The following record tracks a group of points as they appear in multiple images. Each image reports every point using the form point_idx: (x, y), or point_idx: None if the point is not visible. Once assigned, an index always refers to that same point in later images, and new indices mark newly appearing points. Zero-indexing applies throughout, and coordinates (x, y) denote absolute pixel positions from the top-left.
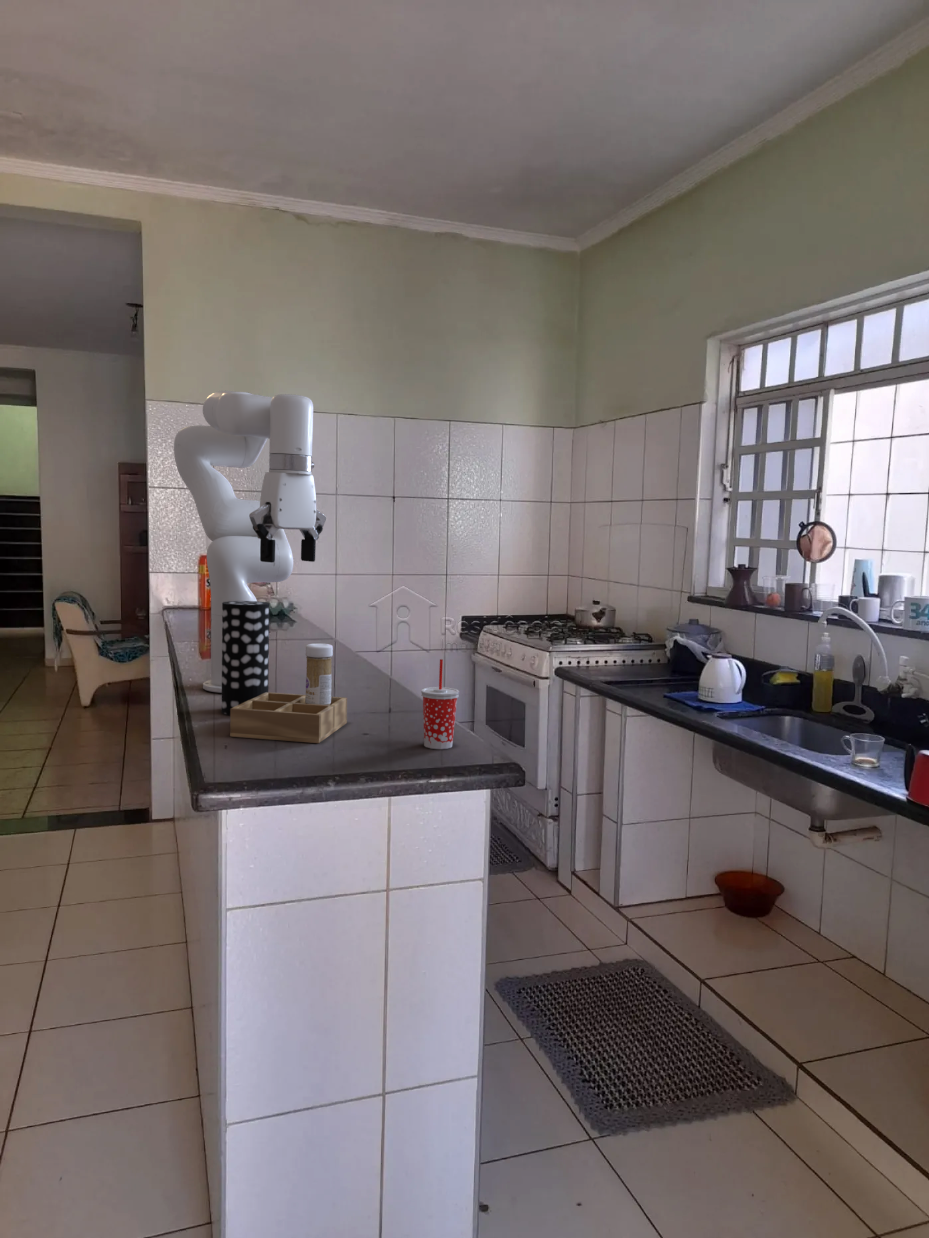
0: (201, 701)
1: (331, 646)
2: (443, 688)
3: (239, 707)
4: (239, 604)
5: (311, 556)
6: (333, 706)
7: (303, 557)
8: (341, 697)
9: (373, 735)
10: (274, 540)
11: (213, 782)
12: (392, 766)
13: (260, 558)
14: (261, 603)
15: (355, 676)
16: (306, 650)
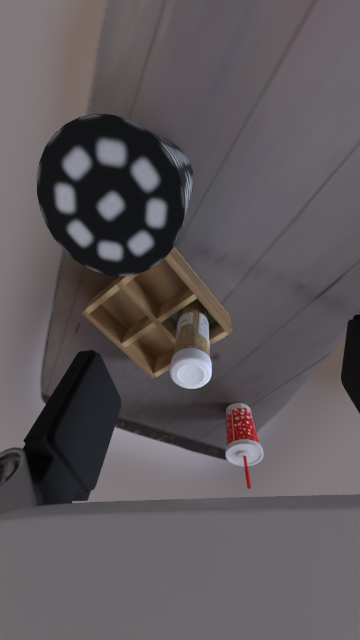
0: (126, 37)
1: (202, 385)
2: (249, 456)
3: (93, 309)
4: (76, 246)
5: (350, 396)
6: None
7: (354, 342)
8: (227, 328)
9: (217, 364)
10: (85, 497)
11: (45, 394)
12: (169, 425)
13: (76, 358)
14: (151, 238)
15: None
16: (170, 365)
